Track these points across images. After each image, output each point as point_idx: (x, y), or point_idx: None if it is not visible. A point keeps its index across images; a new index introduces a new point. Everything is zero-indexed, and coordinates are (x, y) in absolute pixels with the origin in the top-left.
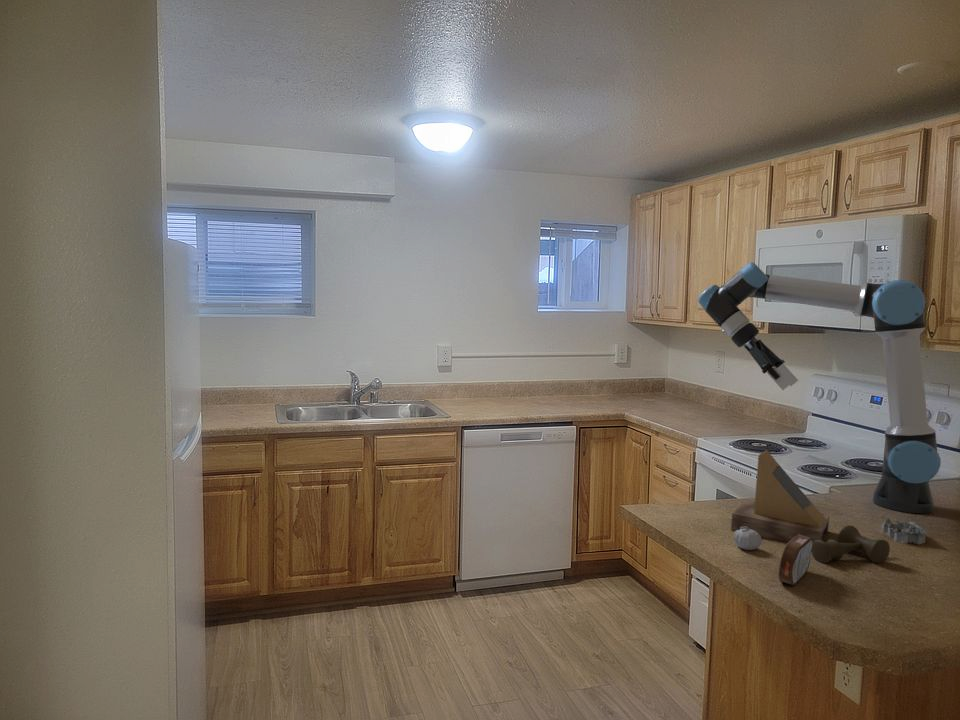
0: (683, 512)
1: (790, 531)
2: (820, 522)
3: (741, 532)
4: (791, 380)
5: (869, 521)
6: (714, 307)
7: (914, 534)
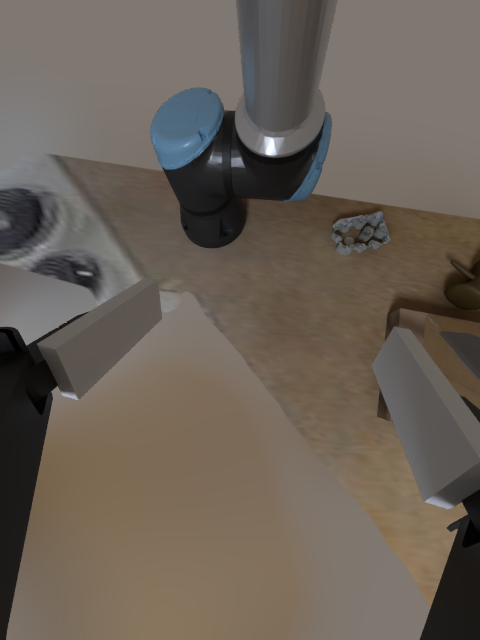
0: (425, 517)
1: None
2: (467, 324)
3: None
4: (149, 310)
5: (310, 263)
6: None
7: (378, 226)
